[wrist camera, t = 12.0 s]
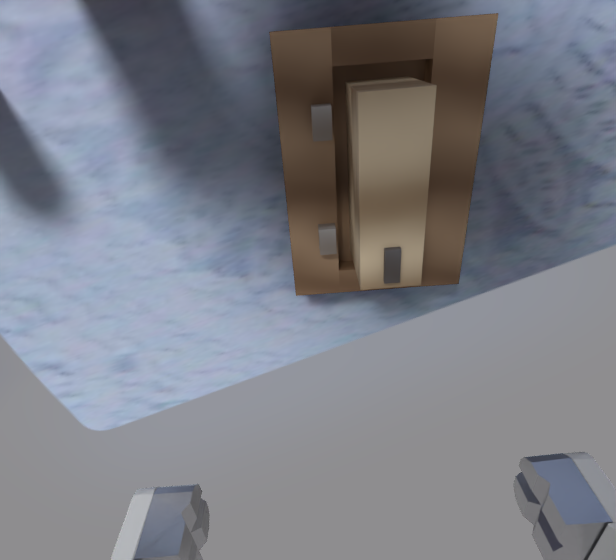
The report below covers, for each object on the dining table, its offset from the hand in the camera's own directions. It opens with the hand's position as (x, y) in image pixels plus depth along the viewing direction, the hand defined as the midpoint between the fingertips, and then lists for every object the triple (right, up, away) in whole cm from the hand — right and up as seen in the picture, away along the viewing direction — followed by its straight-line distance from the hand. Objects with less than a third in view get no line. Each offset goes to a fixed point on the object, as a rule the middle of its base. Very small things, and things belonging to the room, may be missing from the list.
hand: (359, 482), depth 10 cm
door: (+4, +13, +18) cm, 23 cm away
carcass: (+4, +14, +20) cm, 25 cm away
